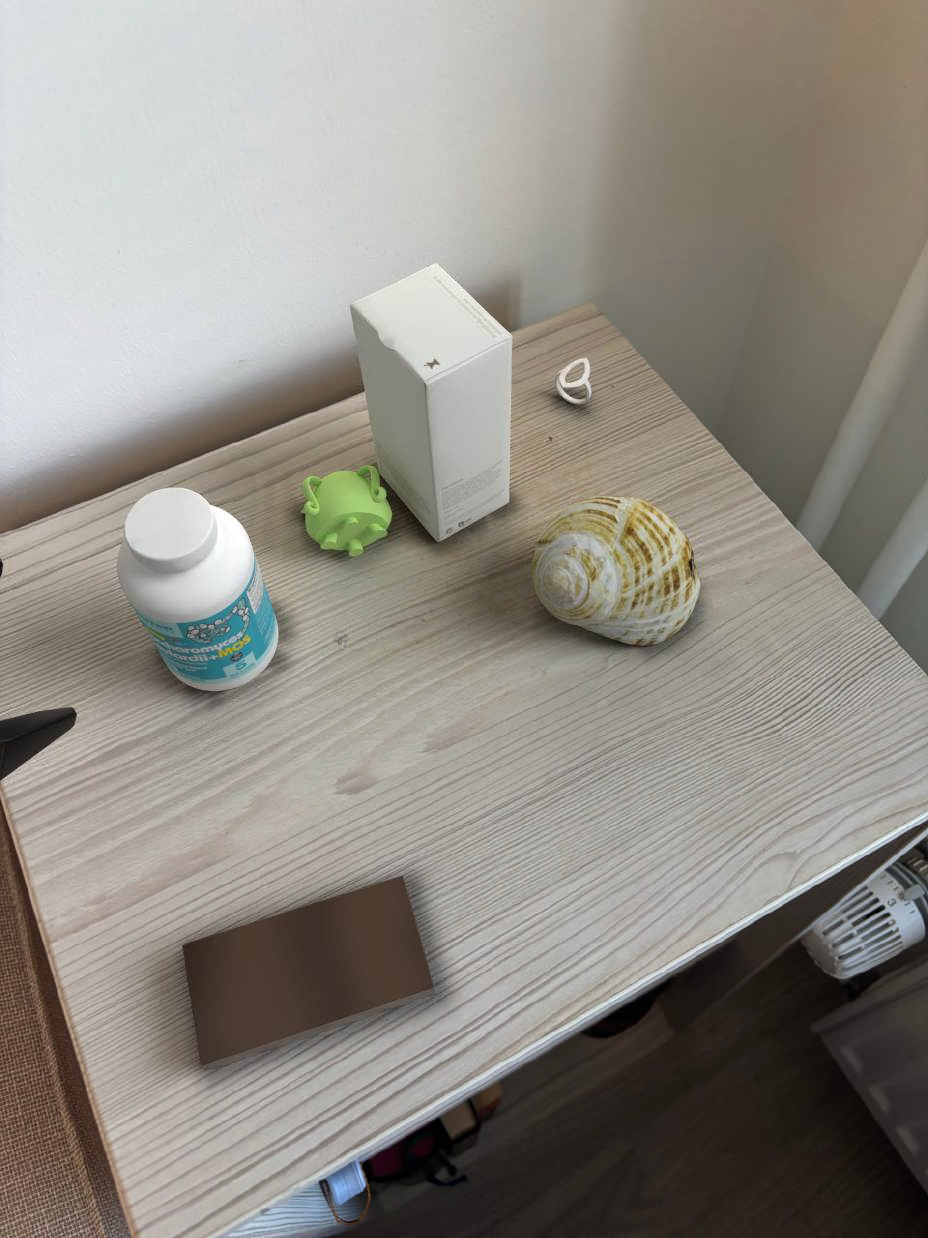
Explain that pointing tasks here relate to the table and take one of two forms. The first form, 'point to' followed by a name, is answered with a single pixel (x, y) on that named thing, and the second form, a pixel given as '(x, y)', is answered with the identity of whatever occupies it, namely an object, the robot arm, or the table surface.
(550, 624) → the table surface
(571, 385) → the ring
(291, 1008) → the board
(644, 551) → the seashell
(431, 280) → the cosmetic box
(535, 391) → the table surface
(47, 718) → the robot arm
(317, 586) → the table surface
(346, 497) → the green footed pot
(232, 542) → the pill bottle
